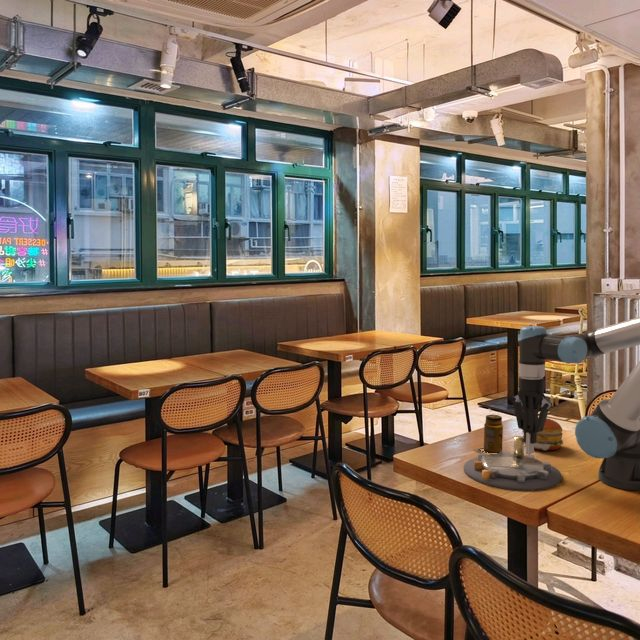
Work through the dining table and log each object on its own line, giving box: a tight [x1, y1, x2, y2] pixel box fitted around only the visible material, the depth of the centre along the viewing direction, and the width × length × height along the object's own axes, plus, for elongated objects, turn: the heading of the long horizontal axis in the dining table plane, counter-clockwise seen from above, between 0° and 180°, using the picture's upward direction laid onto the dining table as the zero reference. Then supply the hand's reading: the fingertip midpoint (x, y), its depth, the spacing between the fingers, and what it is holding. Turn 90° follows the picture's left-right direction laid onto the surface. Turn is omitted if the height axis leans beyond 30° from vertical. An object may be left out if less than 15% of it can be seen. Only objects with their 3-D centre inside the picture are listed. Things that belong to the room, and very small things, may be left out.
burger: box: [521, 418, 564, 451], centre depth 212 cm, size 13×14×10 cm
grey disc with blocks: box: [473, 435, 552, 482], centre depth 186 cm, size 22×22×8 cm
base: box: [463, 456, 563, 491], centre depth 186 cm, size 28×28×4 cm
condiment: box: [474, 414, 509, 455], centre depth 207 cm, size 7×8×12 cm
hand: (529, 453), depth 190 cm, fingers closed
